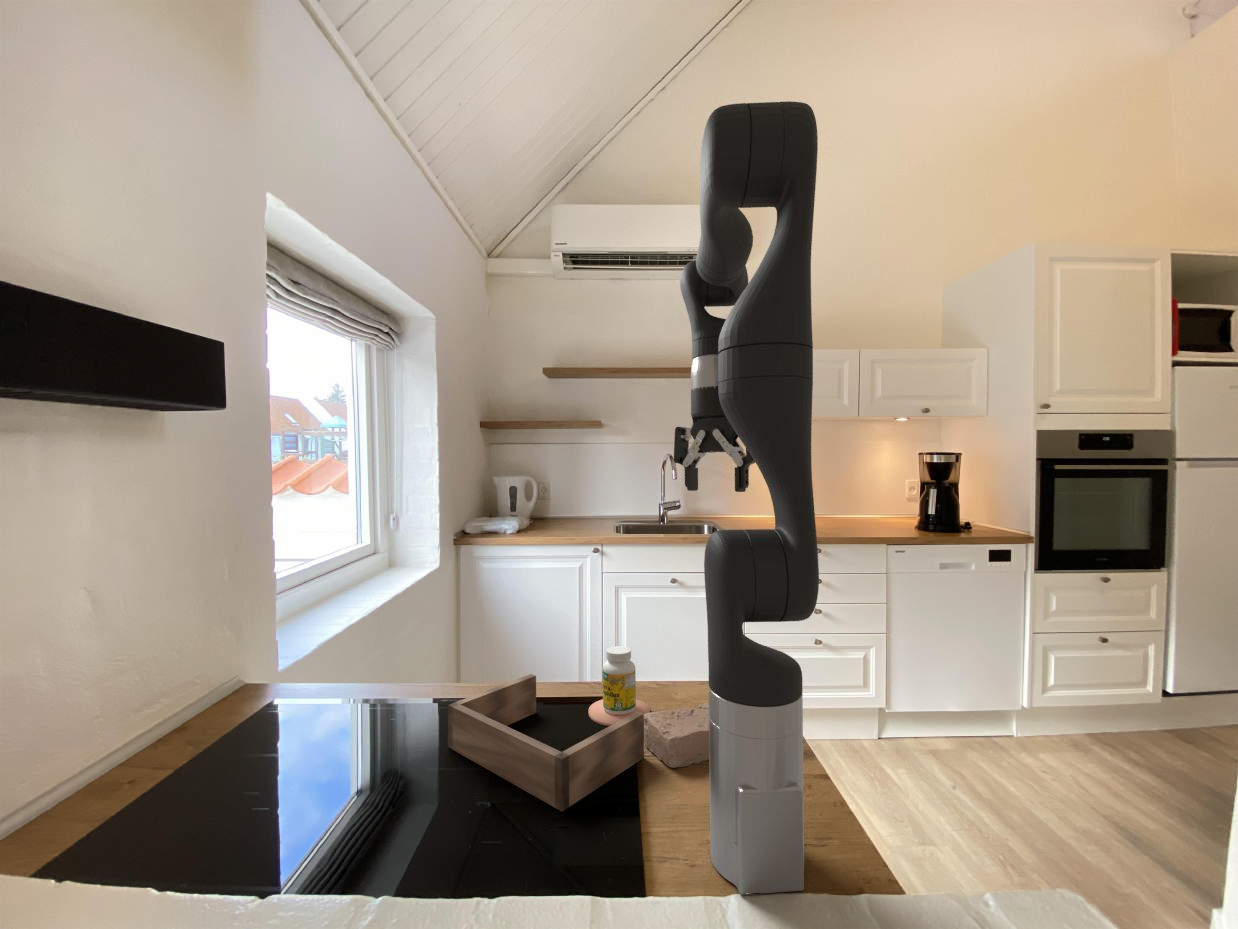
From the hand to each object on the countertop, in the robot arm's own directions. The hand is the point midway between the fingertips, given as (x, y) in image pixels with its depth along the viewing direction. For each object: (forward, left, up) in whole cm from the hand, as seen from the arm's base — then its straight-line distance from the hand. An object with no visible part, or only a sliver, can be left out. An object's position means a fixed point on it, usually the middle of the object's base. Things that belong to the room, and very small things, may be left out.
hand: (715, 491), depth 86 cm
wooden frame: (-6, +26, -36) cm, 45 cm away
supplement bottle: (+5, +15, -36) cm, 39 cm away
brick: (-6, +4, -37) cm, 37 cm away
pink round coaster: (+5, +15, -36) cm, 39 cm away
